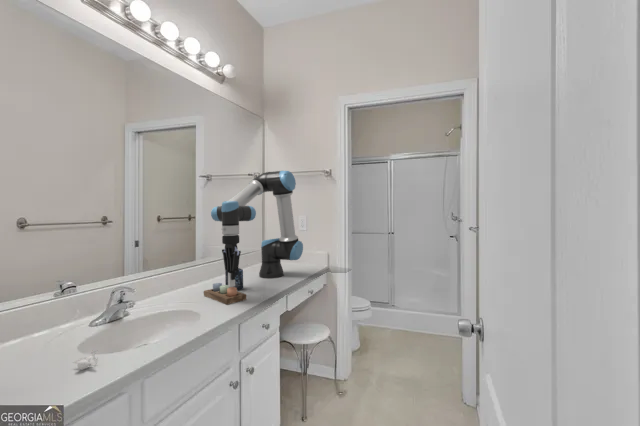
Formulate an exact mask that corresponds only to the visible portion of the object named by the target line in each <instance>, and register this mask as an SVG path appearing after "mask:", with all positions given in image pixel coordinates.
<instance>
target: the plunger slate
mask: <svg viewBox="0 0 640 426" xmlns="http://www.w3.org/2000/svg"><path fill="white" fill-rule="evenodd" d="M222 285H223V283H221V282H216V283H212V289H213V291H214V292H217V291H220V286H222Z"/></svg>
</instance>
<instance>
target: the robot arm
mask: <svg viewBox="0 0 640 426" xmlns="http://www.w3.org/2000/svg"><path fill="white" fill-rule="evenodd" d="M296 185H297V184H296V178H295V176H294V174H293V173H292V172H291V171H290V170H275V171H266V172H263V173H261V174H259V175H257V176H256V177H254V178H253V179H252V180H250V181H249V183H248V185H246V186H245V187H244V188H243V189H242V190H240V191H239V192H238V193H236V194H235V195H234V196H233V197H231V198H230V199H229V200H226V201H225V200H224V201H222V203H221V205H220V206H214V207H213V208H212V209H211V212H210V215H211V218H212V220H213V221H215V222H221V231H222V237H221V241H222V242H221V243H222V245H224V248H223V249H221V253H222V256H223V257H222V258H223V264H224V271H225V270H227V272H228V287H234V286H235V272H236V271H238V268H240V267H239V264H240V256H241V253H242V251H241V250H238V244H240V235H239V234H240V222H251V221H253V220H255V218H256V217H257V211H256V209H255V207H254V206H252V205H248V204H249V203H250V202H251V201H252V200H253V199H255V198H256V197H257V196H260V195H263V193H267V192H272V195H273V196H274V197H275V200H276V206H277V214H278V215H277V216H278V223H279V224H278V225H279V230H280V237H277V238H270V239H263V240H262V241H261V245H260V246H261V247H260V248H261V265H260V269H259V272H258V275H259V276H258V277H260V278H263V279H274V278H281V277H284V270H283V267H282V263H281V260H285V261H297V260H299V259H300V258H301V257H302V254H303V252H304V244H303V242H302V241H301V240H299V236H297V234H296V229H295V221H294V214H293V207H292V206H293V203H292V197H291V196H292V195H293V192H294V190H295V189H296Z"/></svg>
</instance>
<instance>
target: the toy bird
mask: <svg viewBox="0 0 640 426" xmlns="http://www.w3.org/2000/svg"><path fill="white" fill-rule="evenodd" d="M97 352H99V351H98V350H96V349H91V353H90V355H89V356H87V357H86V356H85V357H81V358H78V359H77V360H75V361H74V362H72V363H73V364H75V365H77V369H78V370H83V369H85V370H86V369H88V368H89V367H90V366H98V361H99V360H98V358H99V357H98V356H97V357H95V356H96V353H97Z"/></svg>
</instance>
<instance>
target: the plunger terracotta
mask: <svg viewBox="0 0 640 426" xmlns="http://www.w3.org/2000/svg"><path fill="white" fill-rule="evenodd" d="M237 291H238V290H237V288H236V287H231V288H228V289H227V296H228V297H233V296H237Z"/></svg>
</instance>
